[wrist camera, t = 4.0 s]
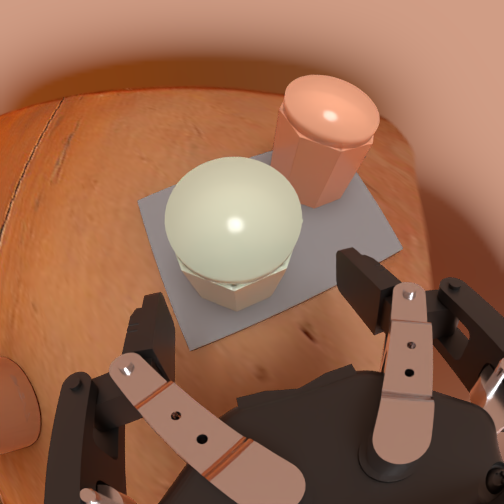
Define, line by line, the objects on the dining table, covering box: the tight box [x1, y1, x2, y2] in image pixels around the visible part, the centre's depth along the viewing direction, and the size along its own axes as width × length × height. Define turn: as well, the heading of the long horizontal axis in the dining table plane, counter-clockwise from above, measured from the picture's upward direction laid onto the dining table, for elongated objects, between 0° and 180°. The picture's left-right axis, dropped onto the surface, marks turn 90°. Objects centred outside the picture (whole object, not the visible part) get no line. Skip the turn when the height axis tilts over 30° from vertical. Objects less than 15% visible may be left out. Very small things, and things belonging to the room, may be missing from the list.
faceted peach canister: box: [270, 75, 379, 208], centre depth 20 cm, size 6×6×8 cm
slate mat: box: [138, 151, 403, 351], centre depth 23 cm, size 19×13×1 cm
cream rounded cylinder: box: [164, 157, 303, 312], centre depth 17 cm, size 6×6×8 cm
